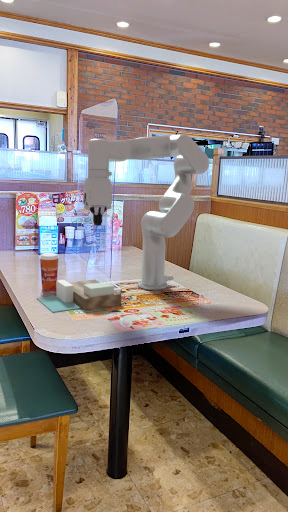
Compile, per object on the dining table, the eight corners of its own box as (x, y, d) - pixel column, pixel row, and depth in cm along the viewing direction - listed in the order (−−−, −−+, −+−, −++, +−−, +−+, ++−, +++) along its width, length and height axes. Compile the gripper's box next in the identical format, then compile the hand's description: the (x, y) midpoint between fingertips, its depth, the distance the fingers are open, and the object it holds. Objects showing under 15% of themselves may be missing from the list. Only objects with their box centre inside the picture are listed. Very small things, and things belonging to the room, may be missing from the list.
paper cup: (39, 291, 156) (39, 256, 154) (39, 286, 164) (38, 252, 161) (60, 291, 158) (60, 256, 156) (58, 285, 166) (58, 252, 163)
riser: (94, 289, 163) (94, 279, 162) (121, 304, 145) (121, 293, 144) (61, 293, 155) (61, 283, 155) (85, 310, 137) (85, 299, 137)
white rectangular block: (64, 279, 151) (56, 280, 150) (73, 285, 144) (65, 286, 142) (64, 295, 153) (56, 296, 151) (73, 301, 145) (65, 302, 143)
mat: (62, 295, 153) (62, 294, 153) (80, 308, 139) (80, 307, 139) (36, 298, 148) (36, 297, 148) (52, 312, 134) (52, 311, 134)
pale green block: (83, 292, 144) (83, 284, 143) (106, 289, 148) (106, 281, 148) (90, 297, 139) (90, 288, 138) (113, 294, 143) (114, 285, 143)
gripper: (111, 175, 153) (110, 223, 156) (74, 173, 145) (74, 224, 149) (121, 175, 147) (120, 225, 150) (83, 174, 139) (83, 227, 142)
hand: (97, 225), depth 149 cm, fingers closed
